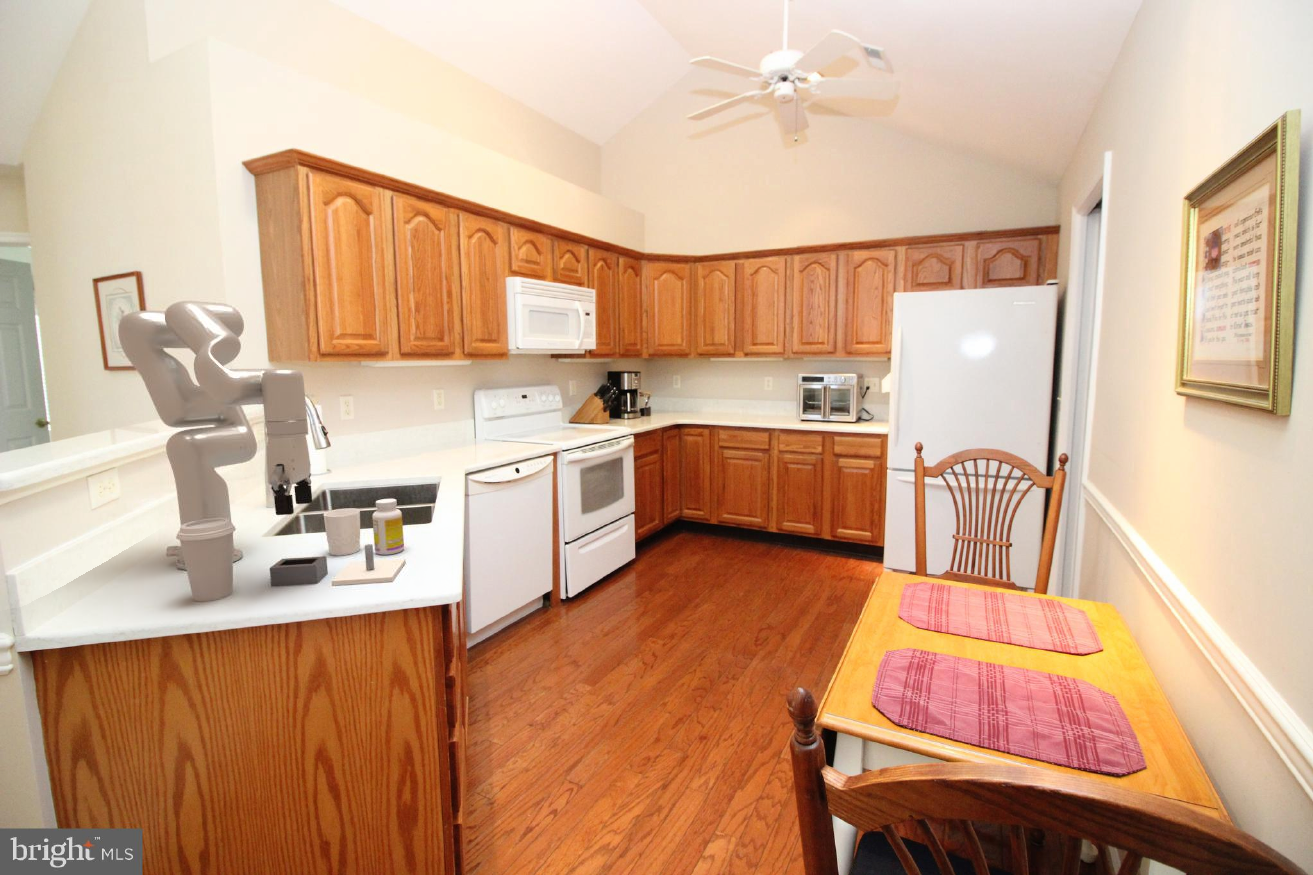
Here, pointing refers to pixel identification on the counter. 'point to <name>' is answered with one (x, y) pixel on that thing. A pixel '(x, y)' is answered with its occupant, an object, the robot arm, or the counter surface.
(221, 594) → the coffee cup
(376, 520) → the supplement bottle
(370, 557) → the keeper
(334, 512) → the white cup
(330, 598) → the counter surface
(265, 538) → the counter surface
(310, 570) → the link
